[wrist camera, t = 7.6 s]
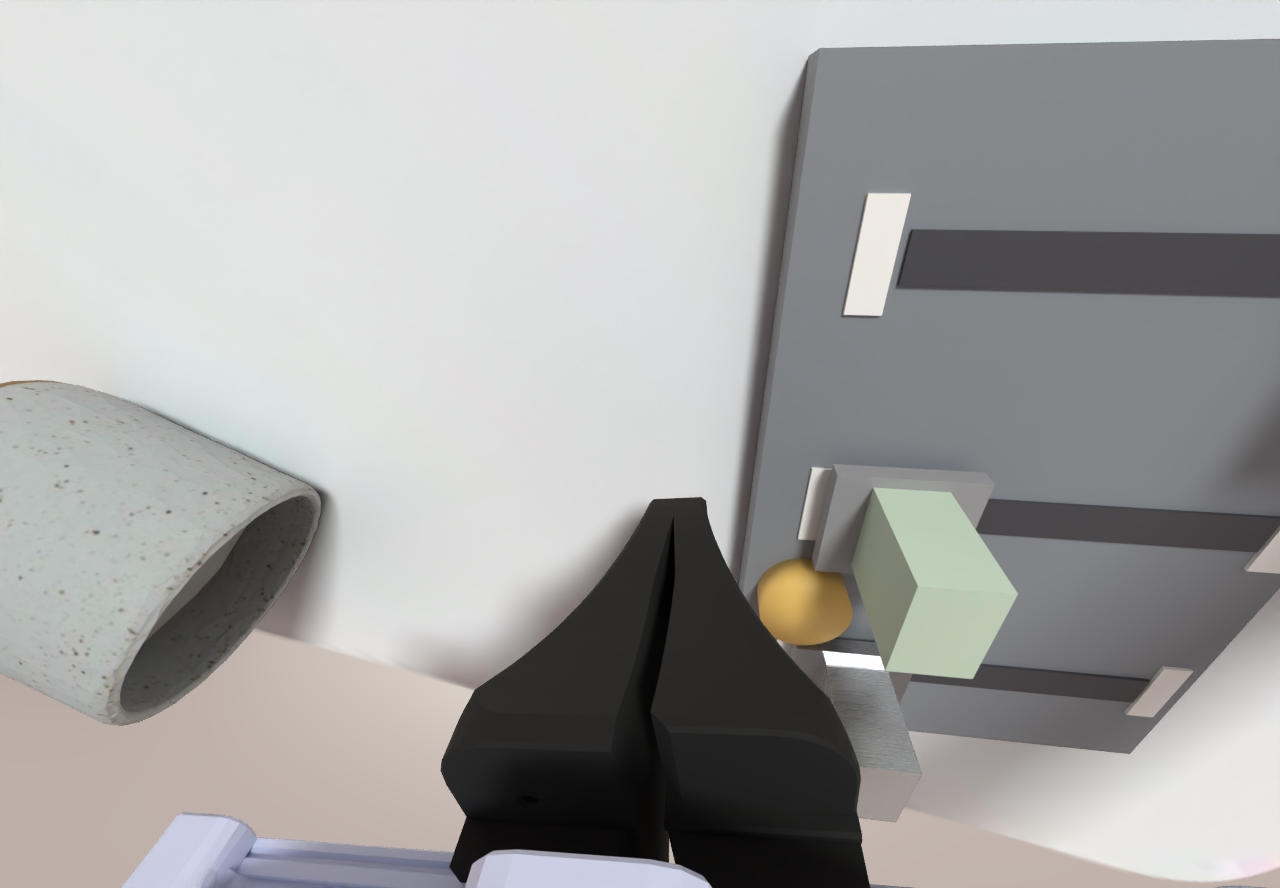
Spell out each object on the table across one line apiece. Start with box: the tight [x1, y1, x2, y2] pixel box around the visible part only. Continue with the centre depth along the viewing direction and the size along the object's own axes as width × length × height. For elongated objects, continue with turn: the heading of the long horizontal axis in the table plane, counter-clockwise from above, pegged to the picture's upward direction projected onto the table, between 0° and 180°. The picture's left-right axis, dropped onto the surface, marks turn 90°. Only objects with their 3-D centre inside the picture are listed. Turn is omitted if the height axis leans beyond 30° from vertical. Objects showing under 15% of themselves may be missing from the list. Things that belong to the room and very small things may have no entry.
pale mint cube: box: [812, 464, 1018, 679], centre depth 12 cm, size 4×3×4 cm
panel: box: [738, 39, 1280, 754], centre depth 14 cm, size 14×20×2 cm
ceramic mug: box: [0, 380, 321, 726], centre depth 16 cm, size 10×8×7 cm
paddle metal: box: [790, 639, 922, 822], centre depth 15 cm, size 4×3×4 cm
